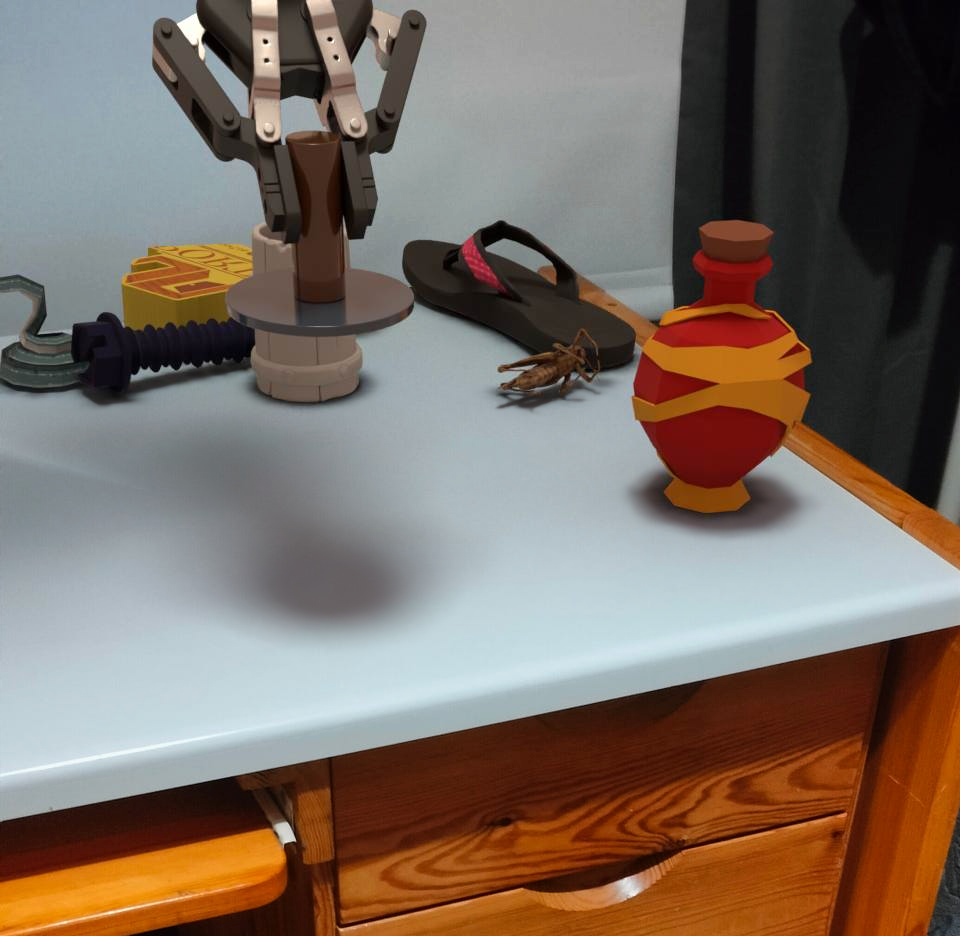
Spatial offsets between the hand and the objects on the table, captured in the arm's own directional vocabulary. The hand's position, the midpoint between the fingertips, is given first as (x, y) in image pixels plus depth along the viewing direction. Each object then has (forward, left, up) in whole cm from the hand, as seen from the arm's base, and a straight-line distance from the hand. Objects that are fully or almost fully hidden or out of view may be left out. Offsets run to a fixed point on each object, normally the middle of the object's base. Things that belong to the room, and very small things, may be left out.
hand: (326, 231), depth 78 cm
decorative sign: (-27, +44, -17) cm, 54 cm away
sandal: (-9, +47, -19) cm, 51 cm away
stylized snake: (-33, +23, -19) cm, 44 cm away
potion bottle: (+14, +21, -19) cm, 32 cm away
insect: (+2, +32, -16) cm, 36 cm away
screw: (-23, +26, -19) cm, 39 cm away
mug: (-17, +30, -19) cm, 39 cm away
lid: (-1, +1, -4) cm, 4 cm away
